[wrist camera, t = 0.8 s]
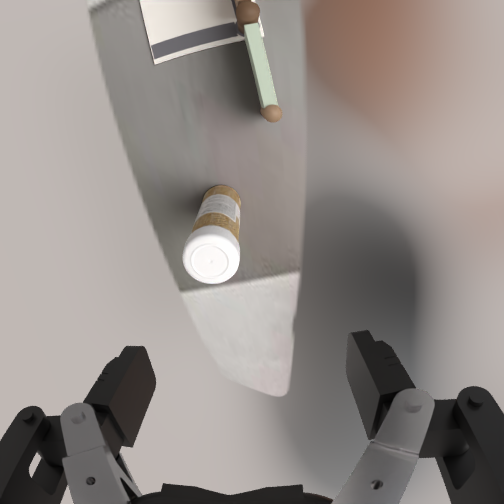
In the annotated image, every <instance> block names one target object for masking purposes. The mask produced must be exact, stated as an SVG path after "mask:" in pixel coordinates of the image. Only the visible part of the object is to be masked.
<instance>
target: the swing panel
mask: <svg viewBox="0 0 504 504" xmlns="http://www.w3.org/2000/svg"><path fill="white" fill-rule="evenodd" d="M244 38H245V42H246V46H247V50H248V54H249V58H250V62H251V66H252V70H253V74H254V79H255V83H256V87H257V91H258V96H259V100H260V104H261V108H260V112H261V114H262V116H263V117H264V118H265V119H266V120H267V121H269V122H277V121H279V120H280V119H281V117H282V110H281V108H280V107H279V106H278V103H277V99H276V94H275V90H274V85H273V81H272V77H271V73H270V68H269V64H268V60H267V56H266V52H265V48H264V44H263V40H262V36H261V32H260V28H259V24H258V23H254V24H248V25H244Z"/></svg>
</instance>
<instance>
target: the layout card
mask: <svg viewBox="0 0 504 504" xmlns="http://www.w3.org/2000/svg"><path fill="white" fill-rule="evenodd" d="M251 1H252V2H254V3H255V0H251ZM140 4H141V9H142V13H143V18H144V22H145V26H146V30H147V35H148V39H149V43H150V47H151V51H152V55H153V59H154V63H155V65H156V64H159V63H162V62H165V61H168V60H171V59H174V58H177V57H180V56H184V55H187V54H191V53H194V52H198V51H201V50H205V49H209V48H213V47H217V46H221V45H225V44H230V43H234V42H239V41H244V40H245V38H244V34H242V33H241V32H240V31H239V30H238V25H237V17H236V4H235V1H234V0H140ZM258 24H259V28H260V32H261V36H262V37H264V32H263V29H262V25H261V21H260V17H259V18H258Z"/></svg>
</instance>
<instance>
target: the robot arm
mask: <svg viewBox="0 0 504 504" xmlns="http://www.w3.org/2000/svg"><path fill="white" fill-rule="evenodd" d="M346 374H347V378H348V381H349V384H350V387H351V390H352V393H353V395H354V398H355V401H356V404H357V407H358V409H359V413H360V416H361V419H362V422H363V425H364V428H365V431H366V434H367V437H368V439H369V440H371V439H374V441H373V442H372V441H371V442H370V443H369V445H368V446H367V448H366V450H365V452H364V453H363V455H362V457H361V458H360V460H359V462H358V463H357V465H356V467H355V468H354V470H353V472H352V473H351V475H350V476H349V478H348V480H347V481H346V483H345V484H344V486H343V487H342V489H341V490H340V492H339V493H338V495H337V496H336V498H335V499H334V500H332V499H330V498H327V497H325V496H321V495H317V494H312V493H304V492H303V485H291V486H279V487H266V488H262V489H258V490H253V491H249V492H244V493H240V494H235V495H226V494H221V493H217V492H213V491H209V490H205V489H202V488H198V487H195V486H183V485H173V484H165V483H163V485H162V489H161V492H155V493H150V494H146V495H142V494H141V492H140V491H139V489H138V487H137V485H136V483H135V482H134V480H133V478H132V476H131V473H130V472H129V469H128V468H127V465H126V463H125V461H124V459H123V457H122V455H121V453H120V449H121V446H126V447H133V445H134V442H135V440H136V437H137V434H138V432H139V429H140V426H141V424H142V421H143V419H144V416H145V413H146V411H147V408H148V406H149V403H150V401H151V398H152V396H153V393H154V391H155V387H156V378H155V374H154V371H153V368H152V365H151V362H150V359H149V357H148V354H147V351H146V349H145V347H144V346H126V347H125V348H124V349H123V351H122V352H121V354H120V356H119V357H115V358H114V359H113V360H112V361H110V362H109V363H108V364H107V365H106V366H105V368H104V369H103V371H102V374H100V376H99V377H98V381H96V382H95V384H94V385H93V387H92V388H91V390H90V392H89V393H88V395H87V397H86V398H85V400H84V401H83V403H75V404H72V405H70V406H68V407H67V408H66V409H65V410H64V411H63V412H62V414H61V416H46V415H45V414H44V412H43V411H42V409H41V408H39V407H37V406H30V407H26V408H24V409H22V410H21V411H20V412H19V413H18V414H17V416H16V417H15V419H14V420H13V422H12V423H11V425H10V426H9V428H8V430H7V431H6V433H5V434H4V436H3V437H2V439H1V441H0V504H60V503H61V500H62V498H63V495H64V492H65V490H66V487H67V485H68V486H69V489H70V493H71V496H72V499H73V503H74V504H399V502H400V500H401V498H402V496H403V494H404V492H405V490H406V487H407V485H408V483H409V481H410V478H411V476H412V473H413V471H414V469H415V466H416V464H417V461H418V459H419V458H431V457H435V459H436V461H437V464H438V467H439V469H440V472H441V475H442V477H443V480H444V483H445V486H446V489H447V492H448V495H449V498H450V501H451V504H504V414H503V412H502V411H501V409H500V407H499V406H498V404H497V403H496V401H495V400H494V398H493V397H492V396H491V394H490V393H489V392H488V391H487V390H485V389H484V388H481V387H477V386H471V387H467V388H464V389H463V390H462V391H461V392H460V393H459V395H458V397H457V399H451V400H450V399H448V400H435V399H433V397H432V396H431V395H430V394H429V393H428V392H426V391H424V390H421V389H416V387H415V385H414V384H413V382H412V380H411V379H410V377H409V375H408V374H407V372H406V370H405V368H404V367H403V365H402V364H401V362H400V360H399V359H398V357H397V355H396V354H395V352H394V350H393V349H392V347H391V346H389V345H388V344H386V343H385V342H383V341H376V342H375V341H374V339H373V337H372V335H371V334H370V332H369V331H368V330H365V331H358V332H351V333H349V335H348V344H347V358H346ZM36 452H37V453H38V454H39V455H40V456H41V457H42V458H41V460H40V462H39V464H38V466H37V468H36V471H35V472H34V474H33V477H32V478H31V477H30V474H29V466H30V464H31V462H32V460H33V458H34V456H35V454H36Z"/></svg>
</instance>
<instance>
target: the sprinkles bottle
mask: <svg viewBox="0 0 504 504" xmlns="http://www.w3.org/2000/svg"><path fill="white" fill-rule="evenodd" d="M240 207H241V201H240V197H239V196H238V194H237V192H236V191H235V190H234V189H232V188H230V187H228V186H224V185H218V186H215V187H212V188H211V189H209V190H208V191H207V192H206V193H205V195H204V197H203V201H202V205H201V207H200V209H199V212H198V215H197V217H196V220H195V223H194V225H193V229H192V233H191V234H190V236H189V237H188V239H187V241H186V244H185V247H184V250H183V255H182V259H183V264H184V267H185V269H186V270H187V272H188V273H189V274H190V275H191V276H192V277H193V278H195V279H196V280H198V281H200V282H203V283H208V284H217V283H221V282H224V281H226V280H228V279H229V278H231V277H232V276H233V275H234V274H235V272H236V271H237V269H238V266H239V260H240V247H239V244H238V235H239V226H240Z"/></svg>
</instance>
